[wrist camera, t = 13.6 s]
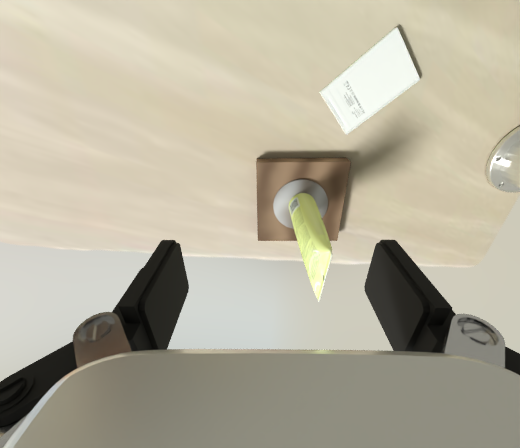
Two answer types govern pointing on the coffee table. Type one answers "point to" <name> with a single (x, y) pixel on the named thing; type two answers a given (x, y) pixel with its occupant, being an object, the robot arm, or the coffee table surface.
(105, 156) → the coffee table surface
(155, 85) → the coffee table surface
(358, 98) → the external hard drive
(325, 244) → the tube
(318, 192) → the walnut base
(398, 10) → the coffee table surface
